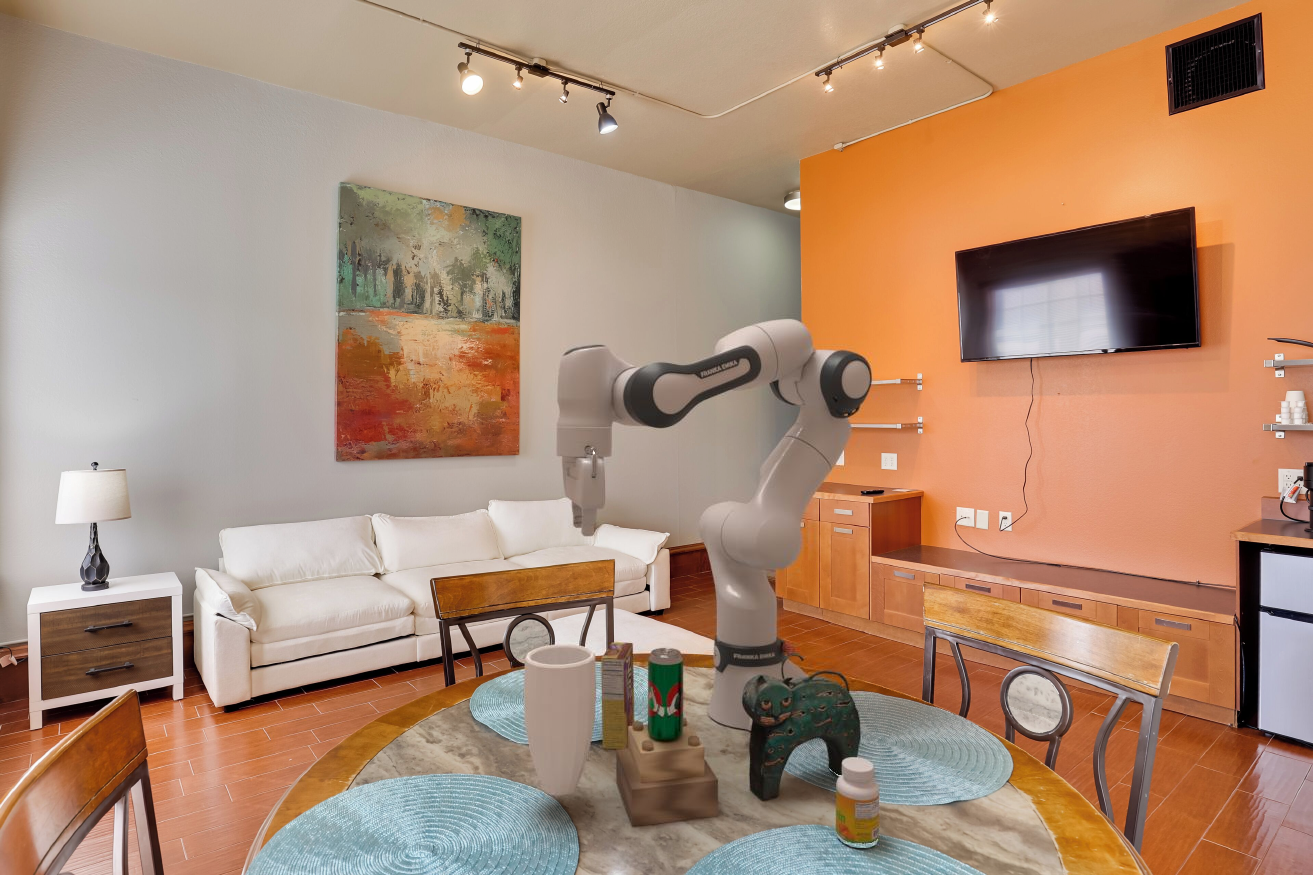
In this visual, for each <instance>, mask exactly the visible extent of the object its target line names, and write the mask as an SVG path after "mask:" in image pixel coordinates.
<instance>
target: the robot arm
mask: <svg viewBox="0 0 1313 875" xmlns="http://www.w3.org/2000/svg"><path fill="white" fill-rule="evenodd" d="M872 374H873V373H872V368H871V366H870V364H869V362H868V360H867V359H866V358H865V357H864V356H863V355H861V354H859V353H858V352H853V351H850V350H846V349H841V350H832V349H815V348H814V343H813V337H812V335H811V332H810V331H809V329H808V328H807V326H806V325H805V324H804V323H803V322H801V321H799V320H797V319H793V318H792V319H791V318H782V319H773V320H767V321H762V322H759V323H754V324H750V325H748V326H745V327H742V328H739V329H737V330H735V331H733V332H731V333H729V334H727V335H726V336H724V337H722V338H720V339H719V340H718V341H717V343H716V345H715V347H714V350H713V355H711V356H708V357H704V358H702V359H699V360H697V361H694V362H690V363H687V364H676V363H671V362H654V363H650V364H646V365H645V366H644V365H643V366H638V367H637V366H636V365H634V364H631V363H629V362H627V361H625V360H623V358H621V357H619V356H617V354H615V353H614V352H612V351H611V349H610V348H609V346H607V345H604V344H590V345H584V346H579V347H574V348H570V349H568V350H566V352H565V353H563V355H562V356H561V359H560V363H559V369H558V377H557V389H556V390H557V391H556V393H557V394H556V395H557V396H556V397H557V400H556V401H557V405H558V409H559V415H558V416H559V417H558V419H557V422H556V456H557V457H561V464H562V479H563V480H562V481H563V488H564V495H565V497H566V498H567V499H569V500H570V501H571V510H572V511H571V512H572V525H573V527H574V528H576V529H579V528H580V529H581V534H582V536H583V537H593V536H594V534H595V524H596V520H597V514H598V513H597V510H602V509H604V508H605V506H606V505H605V503H606V474H605V472H606V471H605V462H604V461H605V460H604V458H606V457H607V458H608V457H609V458H610V457H612V447H613V446H612V441H613V440H612V439H613V438H612V437H613V431H612V430H613V429H612V428H613V423H614V422H615V423H618V424H620V425H623V426H631V427H649V428H650V427H651V428H654V429H667V428H670V427H673V426H675V425H677V424H679V422H681V421H682V420H683V419H684V418H685V417H686V416H687V415H688V414H689V413H690V412H691V411H692V410H693V409H695V407H697V405H699V404H700V403H702V402H704V401H706V400H708V399H712V398H714V397H717V396H720V395H721V394H724V393H726V392H729V391H745V390H750V389H751V390H752V389H756V388H759V387H762V386H765V385H768V384H769V386H770V388H771V391H772V393H773V395H774V396H775V397H776V398H777V399H778V400H780V401H781V402H783V403H785V404H788V405H790V406H800V409H799V414H798V417H797V419H796V421H795V422H794V424H793V425H792V426H791V427H790V429H789V430H788V431H787V432H786V433H785V435H784V436H783V437H782V438H781V440H780V441H779V442H778V444H777V445H776V446H775V448H774V449H773V450H772V452H771V453H770V454H769V456H768V457H767V458H766V460H765V461H764V462H763V463H762V465H761V466H760V468H759V472H758V474H759V484H758V487H757V489H756V492H755V493H754V495H753V497H752V499H751V500H750V501H748V502H747V503H744V502H740V501H734V500H729V501H722V502H719V503H714V504H712V505H710V506H709V507H707V508H706V509H705V510H704V511H703V513H702V515H701V516H700V519H699V524H698V532H699V537H700V538H701V541H702V543H703V544H704V546H705V548H706V551H707V555H708V559H709V564H710V569H711V571H712V577H713V583H714V588H715V596H716V634H715V636H714V643H713V644H714V645H713V664H714V668H715V670H714V678H713V686H712V692H711V696H710V701H709V705H708V707H707V710H706V711H707V712H706V713H707V715H708V716H709V717H710V718H711V719H712V720H713V721H715V722H716V723H719V724H722V725H725V726H727V727H731V728H736V729H743V730H746V731H750V732H751V726H752V719H751V718H750V717H749V715H748V714H747V713H746V712H745V710H744V708H743V704H742V696H743V690H744V687H745V685H746V683H747V682H748V681H749V680H750V679H752V678H753V677H755V676H757V675H768V676H771V677H774V678H777V679H783V678H782V673H781V667H782V661H783V659H784V657H786V656H787V655H789V654H791V653H796V652H797V649H796V646H795V645H793V643H791V642H788V641H787V642H786V641H785V640H784V639H781V638H780V637H778V636H777V634H778V633H777V629H778V626H777V624H778V623H777V621H778V620H777V618H778V617H777V616H778V613H777V612H778V611H777V610H778V608H777V607H778V605H777V604H778V603H777V602H778V601H777V600H778V599H777V595H776V593H775V591H774V589H773V587H772V585H771V584H770V582H769V578H768V576H767V572H766V571H775V570H784V569H786V568H788V567H789V566H791V565H792V564H794V563H795V561H796V560H797V559H798V558H799V555H800V553H801V551H802V547H803V546H802V545H803V535H802V532H801V524H802V520H803V517H804V515H805V512H806V509H807V507H808V505H809V503H810V502H811V500H812V499H813V497H814V495H816V493H817V491H818V489H819V488H820V487H821V485H822V484H823V482H824V481H825V480H826V478H827V477H828V476H829V474H830V473H831V472H832V470H833V469H834V467H835V466H836V464H837V462H838V461H839V459H840V458H841V457H842V454H843V452H844V450H845V448H846V446H847V444H848V443H849V440H850V437H851V435H852V424H851V421H850V420H849V418H850V417H852V416H854V415H855V414H857V413H858V412H859V410H860V408H861V405H862V404H863V403H864V402H865V400H866V398H867V397H868V395H869V392H870V390H871V388H872V387H871V386H872V383H873V382H872V381H873V380H872V379H873V378H872V376H873V375H872ZM783 674H784V678H787V677H793V679H792V680H795V679H799V678H803V677H809V676H810V675H808V674H807V673H806V672H805V671H803V669H802V668H800V667H799V666H798V665H796V664H795V663H794V662H793V661H791V660H789V658H788V659H787V660H786V661H785V663H784V666H783ZM792 680H791V681H792Z"/></svg>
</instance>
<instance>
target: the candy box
mask: <svg viewBox="0 0 1313 875" xmlns="http://www.w3.org/2000/svg"><path fill="white" fill-rule="evenodd" d="M600 664H601V665H600V666H601V667H600V668H601V669H600V670H601V673H600V674H601V725H602V726H601V728H602V733H601V734H602V735H601V736H602V738H601V739H602V749H606V750H618V749H627V748H628V726H632V723H633V722H635V719H636V718H635V686H634V685H635V683H634V643H633V642H619V641H618V642H617V641H615V642H611V643H610V645H609V646H608V648H607V650H606V651H605V653H604V654H603V655H602V657H601V658H600Z"/></svg>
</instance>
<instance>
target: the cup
mask: <svg viewBox="0 0 1313 875" xmlns="http://www.w3.org/2000/svg"><path fill="white" fill-rule="evenodd" d="M596 667H597V666H596V654H595V652H594V651H593V650H592V649H590V647H586V646H583V645H577V644H564V643H563V644H551V645H550V644H549V645H544V646H540V647H536V648H534V649H532V650H530V651H529V652H527V654H526V656H525V658H524V678H523V679H524V680H523V708H524V709H523V711H524V727H525V732H526V733H525V734H526V737H527V743H528V746H529V753H530V758H531V760H532V762H533V766H534V768H535V771H536V772H535V773H536V775H537V778H538V780H539V783H540V785H541V786H542V789H543V791H544V792H545V793H546V794H548V795H551V796H565V795H569V794H572V793H573V792H574V791H575V790H576V789H577V787H578V785H579V783H580V780H581V778H582V777H583V776H582V775H583V773H584V770H585V766H586V764H587V760H588V757H589V753H590V747H591V743H592V737H593V732H594V728H595V722H596V721H595V720H596V704H597V703H596V702H597V701H596V699H597V674H596V673H597V670H596V669H597V668H596Z"/></svg>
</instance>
